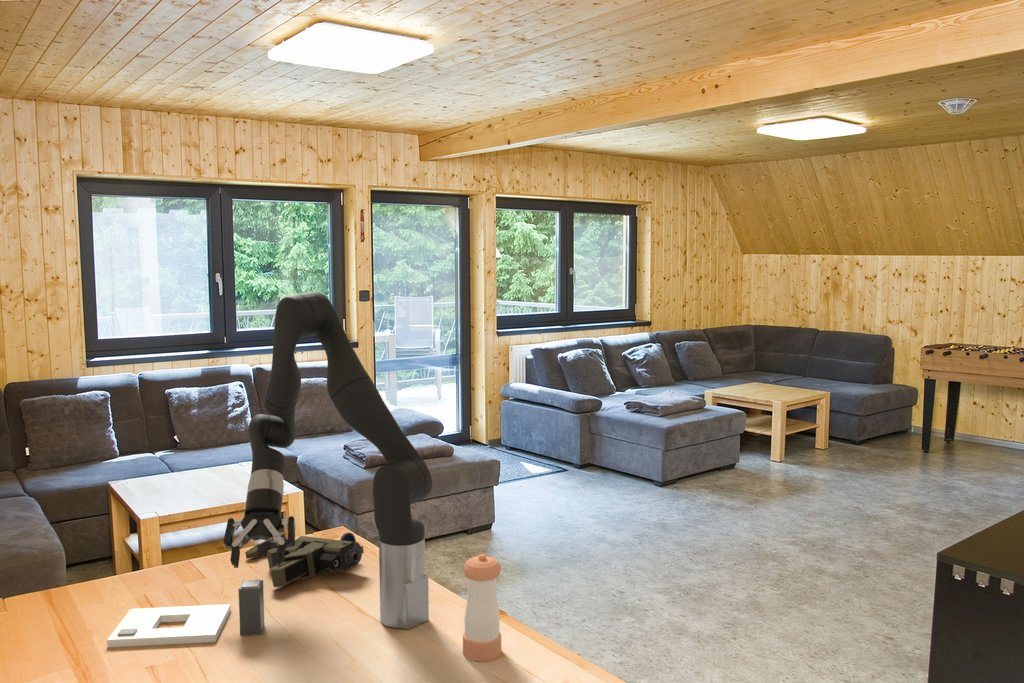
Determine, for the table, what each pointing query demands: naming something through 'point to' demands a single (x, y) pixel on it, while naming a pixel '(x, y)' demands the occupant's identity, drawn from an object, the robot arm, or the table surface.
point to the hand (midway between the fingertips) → (256, 565)
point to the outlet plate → (144, 631)
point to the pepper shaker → (482, 610)
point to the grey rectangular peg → (251, 607)
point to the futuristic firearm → (309, 557)
